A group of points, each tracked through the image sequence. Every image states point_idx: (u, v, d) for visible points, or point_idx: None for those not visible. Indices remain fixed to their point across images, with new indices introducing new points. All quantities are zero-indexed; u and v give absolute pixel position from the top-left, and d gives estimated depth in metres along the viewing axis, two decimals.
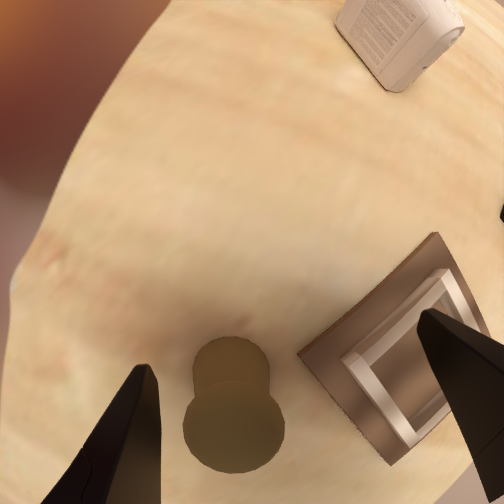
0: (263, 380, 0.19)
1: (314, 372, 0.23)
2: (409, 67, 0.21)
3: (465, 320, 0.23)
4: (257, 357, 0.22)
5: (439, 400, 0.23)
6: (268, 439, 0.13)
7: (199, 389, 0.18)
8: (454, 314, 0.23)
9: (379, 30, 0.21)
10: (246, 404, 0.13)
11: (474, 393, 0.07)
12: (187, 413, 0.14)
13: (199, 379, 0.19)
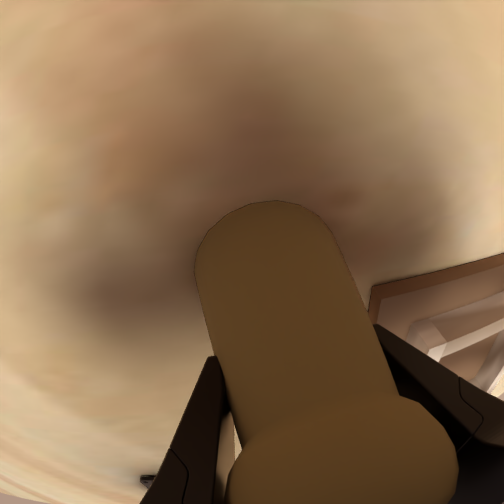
0: None
1: None
2: None
3: None
4: None
5: None
6: None
7: (275, 353, 0.07)
8: None
9: None
10: (450, 495, 0.04)
11: None
12: None
13: (264, 308, 0.08)
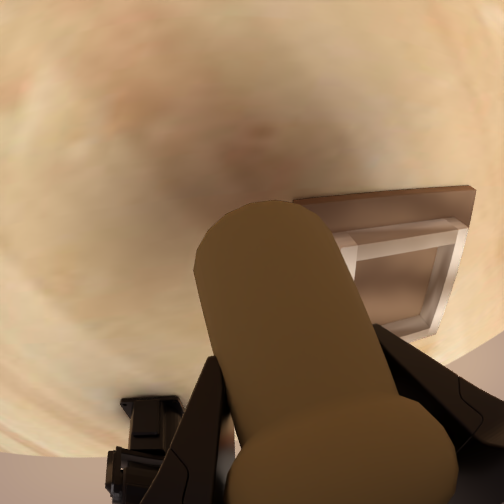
0: None
1: None
2: None
3: (446, 281, 0.23)
4: None
5: None
6: None
7: (274, 352, 0.07)
8: (441, 268, 0.23)
9: None
10: (450, 495, 0.04)
11: None
12: None
13: (263, 307, 0.08)
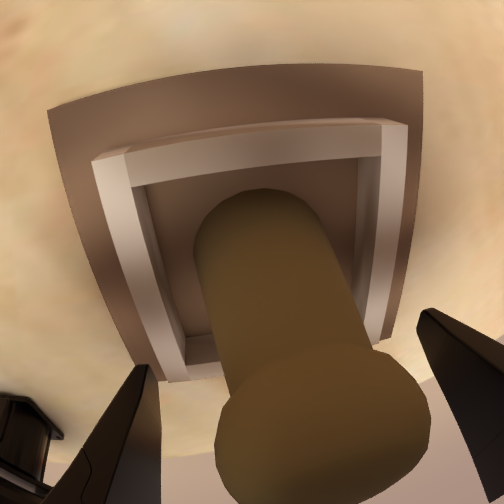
0: None
1: (57, 150, 0.11)
2: None
3: (379, 242, 0.13)
4: None
5: None
6: None
7: (259, 311, 0.08)
8: (367, 217, 0.13)
9: None
10: (422, 441, 0.05)
11: (474, 393, 0.07)
12: (280, 431, 0.05)
13: (251, 275, 0.09)
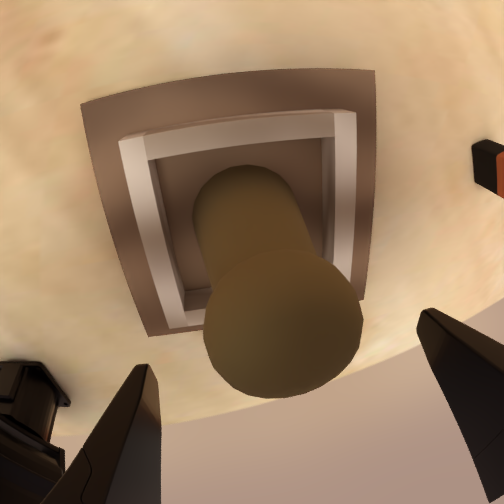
0: None
1: (88, 135, 0.14)
2: None
3: (339, 205, 0.17)
4: None
5: None
6: (337, 369, 0.09)
7: (237, 236, 0.12)
8: (329, 186, 0.17)
9: None
10: (349, 314, 0.09)
11: (474, 393, 0.07)
12: (243, 289, 0.09)
13: (233, 217, 0.13)
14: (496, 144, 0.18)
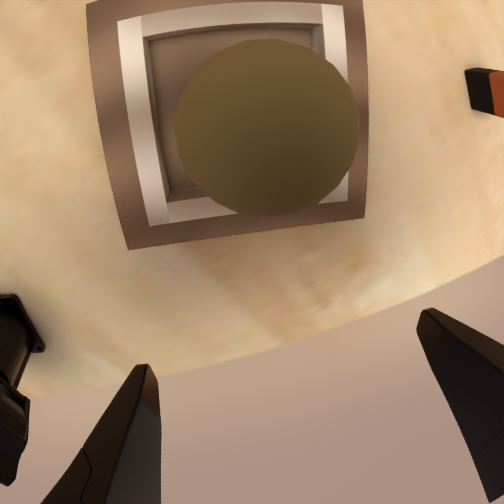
0: None
1: (89, 29, 0.13)
2: None
3: None
4: None
5: None
6: (334, 164, 0.08)
7: None
8: None
9: None
10: (340, 82, 0.07)
11: (474, 393, 0.07)
12: (221, 51, 0.07)
13: None
14: (488, 69, 0.16)
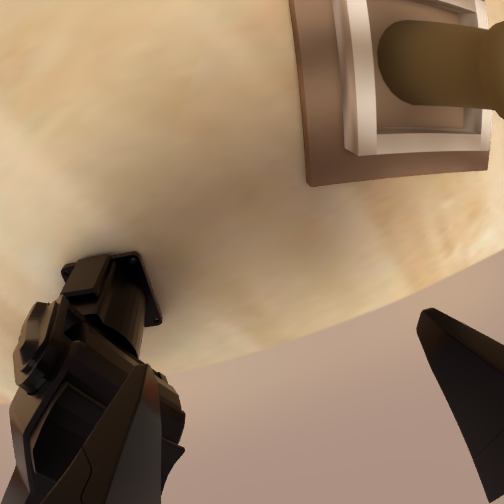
0: None
1: None
2: None
3: None
4: None
5: (417, 130, 0.17)
6: None
7: (467, 28, 0.09)
8: None
9: None
10: None
11: (474, 393, 0.07)
12: None
13: (450, 25, 0.11)
14: None
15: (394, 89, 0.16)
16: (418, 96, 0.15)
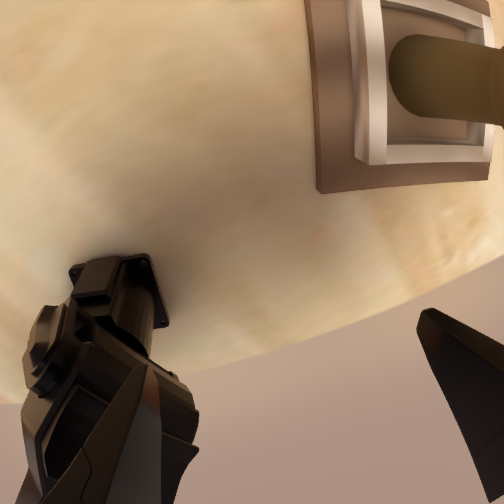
0: None
1: None
2: None
3: None
4: None
5: (424, 141, 0.18)
6: None
7: (478, 46, 0.10)
8: None
9: None
10: None
11: (474, 393, 0.07)
12: None
13: (461, 43, 0.11)
14: None
15: (403, 102, 0.17)
16: (427, 109, 0.16)
